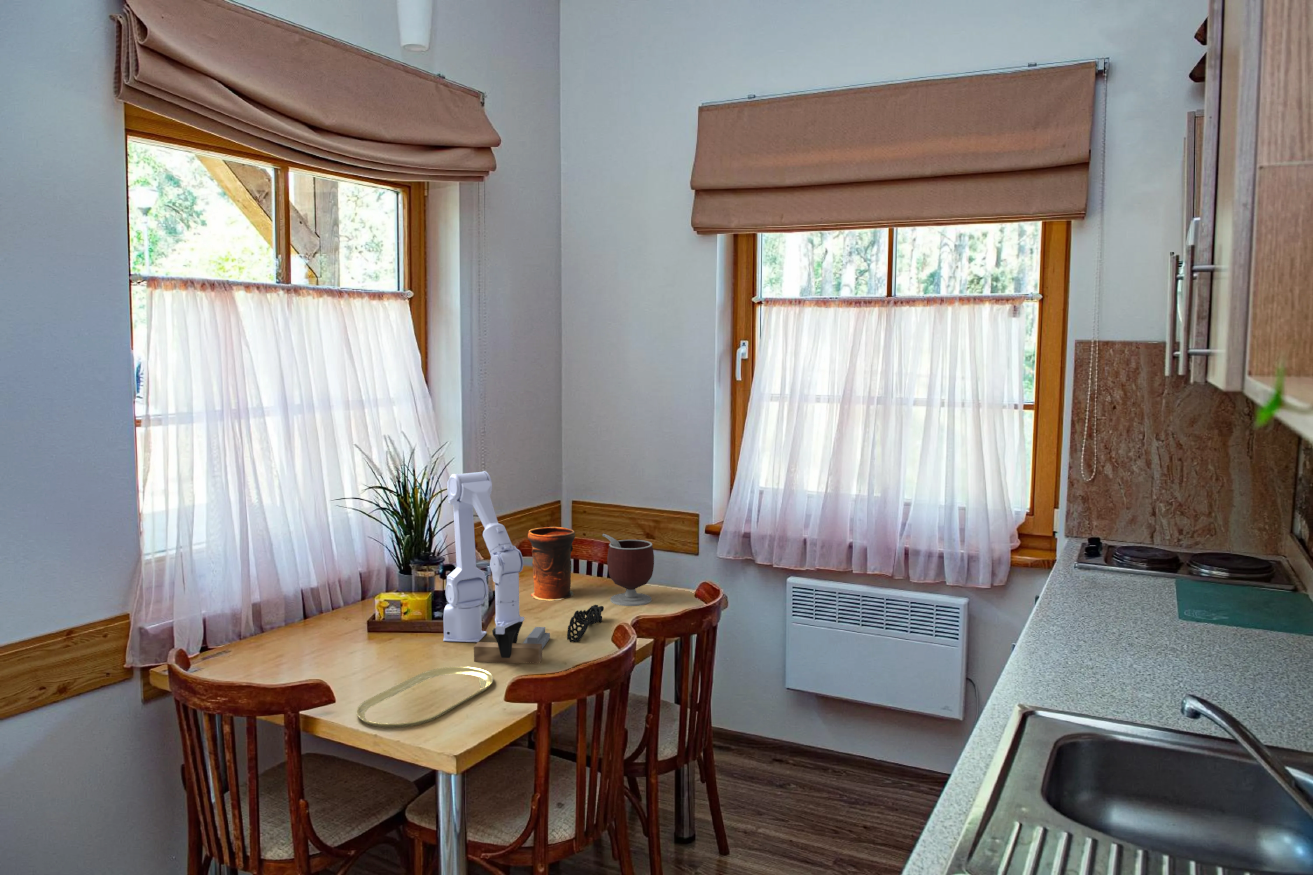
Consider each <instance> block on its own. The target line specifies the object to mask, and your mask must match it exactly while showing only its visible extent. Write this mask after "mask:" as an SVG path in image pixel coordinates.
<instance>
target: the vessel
mask: <svg viewBox="0 0 1313 875" xmlns="http://www.w3.org/2000/svg"><path fill="white" fill-rule="evenodd" d="M575 538H576V532H575V530H573V529H570V528H567V527H560V526H549V527H537V528H535V527H534V528H531V529H530V530H528V532H527V539H528V540H529V542H530V543H531V548H532V549H531V554H532V556H531V557H532V563H531V565H532V575H533V576H532V578H533V592H532V593H530V596H531V598H532V599H536V600H539V601H547V602H548V601H549V602H552V601H560V600H564V599H567V598H571V597H573V596H574V595H575V593H574V591H572V590H571V587H572V586H571V585H572V582H571V578H572V558H571V557H572V556H571V554H572V552H573V549H574V547H573V542H574V540H575Z"/></svg>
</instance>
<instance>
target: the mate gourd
mask: <svg viewBox="0 0 1313 875" xmlns="http://www.w3.org/2000/svg"><path fill="white" fill-rule="evenodd" d="M602 537H604V538H606V539H607V540H608V541H609V542H610V543H609V544H608V549H607V557H606V560H607V562H606V563H607V570H608V575H609V578H610V579H611V581H613V583H614V584H615V585H617V586H619V587H622V588H624V589H626V590H625V592H623V593H618V594H614V595H612V596H610V603H612V604H614V605H617V606H622V607H623V606H624V607H637V606H644V605H648V604H650V603H651V602H652V597H651V595H648V594H645V593H641V592H640V593H639V592H637V590H636V589H637V588H640V587H642V586H645V585H647V584H648V583H649V581H650V579H651V578H652V577H653V573H654V567H655V555H654V554H655V553H654V547H653V543H652V542H651V541H648V540H644V539H621V540H617V539H616V538H614V537H612V536H610V535H608V534H606V533H602Z"/></svg>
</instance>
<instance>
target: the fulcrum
mask: <svg viewBox="0 0 1313 875" xmlns="http://www.w3.org/2000/svg"><path fill="white" fill-rule="evenodd" d="M550 639H551V633H550V632H546V627H545V626H535V627H534V628H533V629H532V631H531V632H530V633H529V634H528V636H527V637H526V638H525V639H524V641H523V642H522V643H528V644H542V650H543V649H544V647H545V646H546V645H547V643H548V642H549V641H550Z"/></svg>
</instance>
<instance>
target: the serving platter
mask: <svg viewBox="0 0 1313 875" xmlns="http://www.w3.org/2000/svg"><path fill="white" fill-rule="evenodd" d="M448 675H467V676H468V675H469V676H474V677H477V678H478V682H479V690H477V691H476V692H474V693H472V694H470V695H468V696H467V697H464V698H463V699H461V700H460V701H459V700H458V702H456V703H454V704H452V705H450V706H449V707H447V708H445V709H443V710H442V711H440V712H438V713H436V714H434V715H432V716H429V717H426V718H423V719H419V720H415V721H406V722H400V723H399V722H398V723H396V722H395V723H382V722H375V721H370V720H367V719H366V717H365V715H366V712H367V711H368V710H370V708H372V707H374V706H376V705H379V704H380V703H382V702H384V701H386V700H389V699H390V698H392V697H394V696H397V695H399V694H400V693H402V692H404V691H407V690H409V689H410V688H412V687H414V686H416V685H418V684H420V683H422V682H424V681H427V680H429V679H432V678H436V677H441V676H448ZM493 683H494V676H493V674H492V673H491V672H489V671H488V670H485V669H482V668H478V667H472V666H449V667H446V666H445V667H441V668H433V669H431V670H427V671H424V672H422V673H419V674H417V675H414V676H413V677H410V678H409V679H407V680H405V681H403V682H400V683H398V684H397V685H394V686H392V687H390V688H388V689H386V690H385V691H383V692H380V693H378V694H376V695H374V696H372V697H369V698H368V699H366V700H364V701H363V702H362V703H360V704H359V705H358V707H357V708H356V716H357V717H358V718H359V720H361V722H363V723H365V724H367V725H369V726H372V727H378V728H386V729H391V728H392V729H396V728H397V729H398V728H408V727H413V726H414V727H415V726H418V725H422V724H425V723H429V722H431V721H433V720H436V719H437V718H438V717H441V716H443V715H444V714H446V713H448V712H449V711H451V710H453V709H455V708H457V707H458V706H460V705H462V704H464V703H465V702H467V701H469V700H470V699H472V698H474V697H476V696H477V695H479V694H481V693H483V692H485V691H486V690H488V688H490V687H491V685H492V684H493Z"/></svg>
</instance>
